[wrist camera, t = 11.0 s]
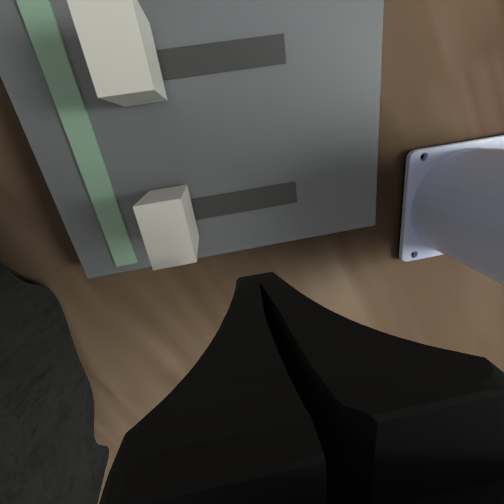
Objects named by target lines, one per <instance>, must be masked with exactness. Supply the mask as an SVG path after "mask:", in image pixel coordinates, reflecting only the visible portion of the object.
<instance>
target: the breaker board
mask: <svg viewBox="0 0 504 504" xmlns="http://www.w3.org/2000/svg"><path fill="white" fill-rule="evenodd" d="M137 1H138V2H139V4H140V6H141V8H142V10H143V12H144V14H145V15H146V17H147V19H148V21H149V23H150V27H151V31H152V35H153V39H154V44H155V48H156V52H157V57H158V61H159V65H160V70H161V74H162V78H163V83H164V87H165V91H166V96H167V100H168V101H162V102H155V103H148V104H141V105H134V106H127V107H125V106H121V105H118V104H115V103H112V102H109V101H106V100H103V99H100V98H98V97H97V94H96V91H95V88H94V84H93V81H92V78H91V75H90V72H89V69H88V66H87V63H86V59H85V56H84V53H83V50H82V47H81V44H80V41H79V37H78V34H77V31H76V28H75V25H74V22H73V19H72V16H71V12H70V9H69V6H68V3H67V0H0V76H1V79H2V81H3V83H4V86H5V88H6V90H7V93H8V95H9V97H10V100H11V102H12V104H13V106H14V109H15V111H16V113H17V116H18V118H19V120H20V123H21V125H22V127H23V130H24V132H25V134H26V137H27V139H28V141H29V144H30V146H31V148H32V151H33V153H34V155H35V158H36V160H37V162H38V165H39V167H40V169H41V172H42V174H43V176H44V178H45V181H46V183H47V185H48V188H49V190H50V192H51V195H52V197H53V199H54V202H55V204H56V206H57V209H58V211H59V213H60V216H61V218H62V220H63V223H64V225H65V227H66V230H67V232H68V234H69V237H70V239H71V241H72V244H73V246H74V248H75V250H76V253H77V255H78V257H79V260H80V262H81V264H82V267H83V269H84V271H85V274H86V276H87V278H88V279H89V278H95V277H100V276H105V275H111V274H116V273H121V272H127V271H132V270H138V269H143V268H148V267H152V266H151V263H150V260H149V257H148V254H147V250H146V247H145V244H144V241H143V238H142V235H141V232H140V229H139V225H138V222H137V219H136V216H135V213H134V210H133V206H134V205H135V204H136V203H137V202H138V201H139V200H140V199H141V198H142V197H143V196H144V195H145V194H147V193H148V192H149V191H151V190H157V189H163V188H169V187H175V186H181V185H187V186H188V190H189V195H190V199H191V203H192V208H193V212H194V216H195V221H196V225H197V229H198V234H199V243H198V253H197V258H202V257H208V256H213V255H218V254H224V253H229V252H234V251H240V250H245V249H251V248H256V247H261V246H267V245H272V244H277V243H283V242H288V241H294V240H299V239H304V238H310V237H315V236H320V235H326V234H331V233H337V232H342V231H347V230H353V229H358V228H364V227H369V226H374V225H375V219H376V192H377V165H378V139H379V112H380V86H381V59H382V32H383V6H384V0H137Z"/></svg>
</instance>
